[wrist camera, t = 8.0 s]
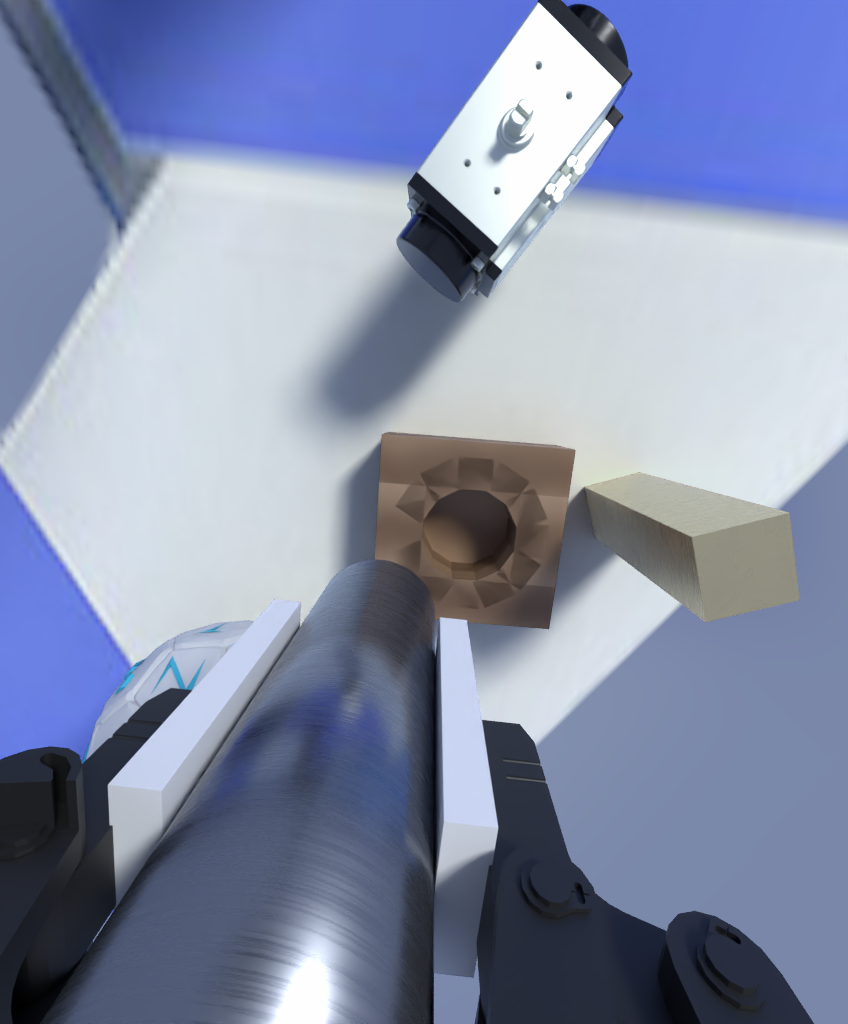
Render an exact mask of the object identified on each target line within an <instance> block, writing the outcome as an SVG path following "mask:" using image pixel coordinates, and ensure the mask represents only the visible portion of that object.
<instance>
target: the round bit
mask: <svg viewBox="0 0 848 1024" xmlns="http://www.w3.org/2000/svg"><path fill="white" fill-rule="evenodd" d="M434 799H435V606H434V602H433V599H432V596H431V593H430V592H429V590H428V588H427V586H426V585H425V584H424V582H423V581H422V580H421V579H420V578H419V577H418V576H417V575H416V574H415V573H414V572H412V571H411V570H410V569H408V568H406V567H405V566H402V565H400V564H398V563H395V562H392V561H387V560H377V559H373V560H365V561H360V562H357V563H354V564H352V565H350V566H348V567H346V568H344V569H343V570H341V571H340V572H339V573H338V574H336V575H335V576H334V577H333V579H332V580H331V581H330V582H329V584H328V585H327V587H326V588H325V590H324V591H323V593H322V594H321V596H320V597H319V599H318V600H317V602H316V604H315V605H314V607H313V608H312V610H311V611H310V613H309V614H308V616H307V617H306V619H305V620H304V622H303V623H302V625H301V626H300V628H299V629H298V631H297V633H296V634H295V636H294V637H293V639H292V640H291V642H290V643H289V645H288V646H287V648H286V649H285V651H284V652H283V654H282V655H281V657H280V658H279V660H278V661H277V663H276V665H275V666H274V668H273V669H272V671H271V672H270V674H269V675H268V677H267V678H266V680H265V681H264V683H263V684H262V686H261V687H260V689H259V690H258V692H257V694H256V695H255V697H254V698H253V700H252V701H251V703H250V704H249V706H248V707H247V709H246V710H245V712H244V713H243V715H242V716H241V718H240V719H239V721H238V722H237V724H236V726H235V727H234V729H233V730H232V732H231V733H230V735H229V736H228V738H227V739H226V741H225V742H224V744H223V745H222V747H221V748H220V750H219V751H218V753H217V754H216V756H215V758H214V759H213V761H212V762H211V764H210V765H209V767H208V768H207V770H206V771H205V773H204V774H203V776H202V777H201V779H200V780H199V782H198V783H197V785H196V787H195V788H194V790H193V791H192V793H191V794H190V796H189V797H188V799H187V800H186V802H185V803H184V805H183V806H182V808H181V809H180V811H179V812H178V814H177V815H176V817H175V819H174V820H173V822H172V823H171V825H170V826H169V828H168V829H167V831H166V832H165V834H164V835H163V837H162V838H161V840H160V841H159V843H158V844H157V846H156V848H155V849H154V851H153V852H152V854H151V855H150V857H149V858H148V860H147V861H146V863H145V864H144V866H143V867H142V869H141V870H140V872H139V873H138V875H137V876H136V878H135V880H134V881H133V883H132V884H131V886H130V887H129V889H128V890H127V892H126V893H125V895H124V896H123V898H122V899H121V901H120V902H119V904H118V905H117V907H116V909H115V910H114V912H113V913H112V915H111V916H110V918H109V919H108V921H107V922H106V924H105V925H104V927H103V928H102V930H101V931H100V933H99V934H98V936H97V937H96V939H95V941H94V942H93V944H92V945H91V947H90V948H89V950H88V951H87V953H86V954H85V956H84V957H83V959H82V960H81V962H80V963H79V965H78V966H77V968H76V970H75V971H74V973H73V974H72V976H71V977H70V979H69V980H68V982H67V983H66V985H65V986H64V988H63V989H62V991H61V992H60V994H59V995H58V997H57V998H56V1000H55V1002H54V1003H53V1005H52V1006H51V1008H50V1009H49V1011H48V1012H47V1014H46V1015H45V1017H44V1018H43V1020H42V1021H41V1023H40V1024H434V1021H433V1020H434V1016H433V1015H434Z"/></svg>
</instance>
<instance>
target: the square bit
mask: <svg viewBox="0 0 848 1024" xmlns="http://www.w3.org/2000/svg"><path fill="white" fill-rule="evenodd" d="M585 492H586V497H587V502H588V507H589V511H590V516H591V521H592V526H593V531H594V535H595V538H596V539H597V540H598V541H599V542H601V543H602V544H603V545H605V546H606V547H607V548H609V549H610V550H611V551H613V552H614V553H615V554H617V555H618V556H619V557H621V558H622V559H623V560H625V561H626V562H627V563H628V564H630V565H631V566H632V567H634V568H635V569H636V570H638V571H639V572H640V573H642V574H643V575H644V576H646V577H647V578H648V579H650V580H651V581H652V582H654V583H655V584H656V585H657V586H659V587H660V588H661V589H663V590H664V591H665V592H667V593H668V594H669V595H671V596H672V597H673V598H675V599H676V600H677V601H679V602H680V603H681V604H683V605H684V606H685V607H686V608H688V609H689V610H690V611H692V612H693V613H695V614H696V615H697V616H698V617H700V618H701V619H702V620H704V621H705V622H709V621H713V620H717V619H721V618H726V617H729V616H734V615H738V614H742V613H747V612H751V611H755V610H760V609H764V608H768V607H772V606H777V605H781V604H786V603H790V602H794V601H798V600H800V599H799V591H798V582H797V574H796V565H795V556H794V548H793V539H792V531H791V523H790V514H789V513H788V512H785V511H781V510H777V509H774V508H770V507H766V506H762V505H759V504H755V503H751V502H748V501H744V500H740V499H736V498H733V497H729V496H725V495H722V494H718V493H714V492H710V491H707V490H703V489H699V488H696V487H692V486H688V485H684V484H681V483H677V482H673V481H670V480H666V479H662V478H658V477H655V476H651V475H647V474H644V473H640V472H639V473H635V474H631V475H628V476H624V477H620V478H616V479H612V480H609V481H605V482H601V483H597V484H593V485H590V486H586V487H585Z"/></svg>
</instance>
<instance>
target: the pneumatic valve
mask: <svg viewBox="0 0 848 1024" xmlns="http://www.w3.org/2000/svg"><path fill="white" fill-rule="evenodd" d="M631 76H632V72H631V71H630V70H629V69H628V60H627V54H626V51H625V47H624V44H623V42H622V40H621V38H620V35H619V34H618V32H617V30H616V29H615V27H614V26H613V24H612V23H611V22H610V21H609V19H608V18H607V17H606V16H605V15H604V14H602V13H601V12H600V11H598V10H597V9H595V8H593V7H591V6H588V5H585V4H573V5H570V6H568V7H567V6H566V5H565V4H564V3H563V2H562V1H561V0H538V2H537V3H536V4H535V6H534V7H533V9H532V10H531V11H530V13H529V14H528V16H527V17H526V19H525V20H524V21H523V23H522V24H521V26H520V27H519V28H518V30H517V31H516V33H515V34H514V35H513V37H512V38H511V40H510V41H509V42H508V44H507V45H506V47H505V48H504V49H503V51H502V52H501V54H500V55H499V56H498V58H497V59H496V61H495V62H494V64H493V65H492V66H491V68H490V69H489V71H488V72H487V73H486V75H485V76H484V78H483V79H482V80H481V82H480V83H479V85H478V86H477V87H476V89H475V90H474V92H473V93H472V94H471V96H470V97H469V99H468V100H467V101H466V103H465V104H464V106H463V107H462V108H461V110H460V111H459V113H458V114H457V116H456V117H455V118H454V120H453V121H452V123H451V124H450V125H449V127H448V128H447V130H446V131H445V132H444V134H443V135H442V137H441V138H440V139H439V141H438V142H437V144H436V145H435V146H434V148H433V149H432V151H431V152H430V153H429V155H428V156H427V158H426V159H425V160H424V162H423V163H422V165H421V166H420V168H419V169H418V170H417V172H416V173H415V175H414V176H413V177H412V179H411V180H410V182H409V183H408V184H407V185H408V193H409V202H408V204H407V207H408V209H409V210H410V211H411V219H410V220H409V222H408V223H407V225H406V226H405V227H404V229H403V230H402V232H401V233H400V234H399V236H398V237H397V239H396V242H397V246H398V248H399V250H400V251H401V253H402V254H403V256H404V257H405V259H406V260H407V261H408V262H409V264H410V265H411V266H412V267H413V268H414V269H415V270H416V272H417V273H418V274H419V275H420V276H421V277H422V278H423V279H424V280H426V281H427V282H428V283H429V284H430V285H431V286H432V287H433V288H435V289H436V290H437V291H438V292H440V293H441V294H443V295H444V296H445V297H447V298H449V299H451V300H453V301H455V302H461V301H463V299H464V298H465V297H466V295H467V294H468V293H469V292H470V293H472V294H473V293H475V294H476V295H478V294H479V293H480V292H481V293H482V294H483V295H484V296H486V297H487V298H488V297H489V295H490V294H491V293H492V291H493V290H494V289H495V288H496V286H497V285H498V284H499V283H500V281H501V280H502V279H503V277H504V276H505V275H506V274H507V272H508V271H509V270H510V269H511V267H512V266H513V265H514V263H515V262H516V261H517V260H518V258H519V257H520V256H521V255H522V253H523V252H524V251H525V250H526V248H527V247H528V246H529V244H530V243H531V242H532V241H533V239H534V238H535V237H536V236H537V234H538V233H539V232H540V230H541V229H542V228H543V227H544V225H545V224H546V223H547V222H548V220H549V219H550V218H551V216H552V215H553V214H554V213H555V211H556V210H557V209H558V208H559V206H560V205H561V204H562V202H563V201H564V200H565V199H566V197H567V196H568V195H569V194H570V192H571V191H572V190H573V189H574V187H575V186H576V185H577V183H578V182H579V181H580V180H581V178H582V177H583V176H584V175H585V173H586V172H587V171H588V169H589V168H590V167H591V166H592V164H593V163H594V162H595V161H596V159H597V158H598V157H599V155H600V154H601V152H602V151H603V149H604V148H605V146H606V144H607V143H608V141H609V140H610V138H611V136H612V135H613V133H614V132H615V130H616V128H617V127H618V125H619V124H620V122H621V120H622V119H623V115H622V114H621V113H620V112H619V111H618V110H617V109H616V108H615V104H616V102H617V101H618V100H619V98H620V97H621V96H622V94H623V92H624V90H625V88H626V85H627V83H628V81H629V80H630V78H631Z"/></svg>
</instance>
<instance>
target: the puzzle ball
mask: <svg viewBox="0 0 848 1024" xmlns="http://www.w3.org/2000/svg"><path fill="white" fill-rule="evenodd" d="M253 623H254V621H249V620H248V621H236V622H224V623H216V624H212V625H209V626H205V627H202V628H198V629H195V630H191V631H188V632H185V633H182V634H180V635H178V636H176V637H174V638H173V639H171V640H168V641H167V642H165V643H164V644H162V645H161V646H159V647H158V648H157V649H156V650H155V651H153V652H152V653H151V654H150V655H149V656H148V657H147V658H146V659H144V660H142V661H140V662H138V663H136V664H135V665H134V666H133V667H132V668H131V669H130V670H129V671H128V672H127V674H126V675H125V678H124V681H123V682H122V683H121V684H120V686H119V687H118V688H117V689H116V691H115V692H114V693H113V694H112V696H111V697H110V698H109V700H108V701H107V702H106V703H105V706H104V709H103V711H102V714H101V716H100V717H99V719H98V720H97V722H96V724H95V727H94V731H93V735H92V738H91V741H90V743H89V745H88V748H87V750H86V752H85V755H84V758H83V762H82V763H84V762H85V761H86V760H87V759H88V758H89V757H90V756H91V755H92V754H93V753H94V752H95V751H96V750H97V749H98V748H99V747H100V746H101V745H102V744H103V743H104V742H105V741H106V740H107V739H108V738H112V736H113V733H114V732H115V731H116V730H117V729H118V728H119V727H121V726H122V725H123V724H124V723H127V722H128V719H129V718H130V717H131V716H132V715H133V714H134V713H135V712H136V711H137V710H138V709H139V708H140V707H141V706H142V705H143V704H144V703H145V702H146V701H148V700H150V699H152V698H153V697H155V696H157V695H159V694H161V693H162V692H164V691H166V690H168V689H170V688H178V689H187V690H193V689H194V688H195V687H196V686H197V685H198V684H199V683H200V682H201V680H202V679H203V678H204V677H205V676H206V675H207V674H208V673H209V672H210V670H211V669H212V668H213V667H214V666H215V665H216V664H217V663H218V662H219V660H220V659H221V658H222V657H223V656H224V655H225V654H226V653H227V652H228V650H229V649H230V648H231V647H232V646H233V645H234V644H235V643H236V641H237V640H238V639H239V638H240V637H241V636H242V635H243V634H244V633H245V631H246V630H247V629H248V628H249V627H250V626H251V625H252V624H253ZM132 671H133V672H132ZM131 672H132V673H131ZM130 673H131V674H130Z"/></svg>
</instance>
